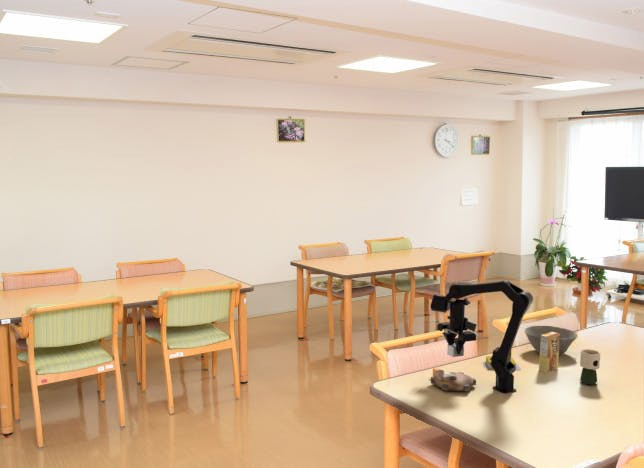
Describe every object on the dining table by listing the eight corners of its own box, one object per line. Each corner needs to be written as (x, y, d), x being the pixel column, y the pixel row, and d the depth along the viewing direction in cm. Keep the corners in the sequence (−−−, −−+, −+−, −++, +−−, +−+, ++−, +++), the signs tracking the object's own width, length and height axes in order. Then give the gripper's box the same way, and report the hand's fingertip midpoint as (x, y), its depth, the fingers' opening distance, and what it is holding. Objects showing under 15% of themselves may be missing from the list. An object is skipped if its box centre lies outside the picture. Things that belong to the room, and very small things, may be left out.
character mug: (592, 389, 236) (594, 356, 234) (573, 384, 241) (575, 352, 239) (602, 382, 243) (605, 350, 242) (585, 377, 248) (587, 346, 247)
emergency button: (482, 353, 267) (517, 354, 265) (482, 362, 267) (517, 364, 265) (485, 359, 258) (521, 361, 256) (484, 369, 258) (521, 371, 256)
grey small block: (463, 355, 242) (464, 346, 242) (453, 357, 240) (453, 347, 240) (457, 352, 246) (457, 343, 246) (447, 354, 244) (447, 344, 244)
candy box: (549, 365, 263) (551, 331, 261) (558, 368, 259) (560, 333, 258) (538, 370, 257) (540, 334, 255) (547, 372, 254) (549, 337, 252)
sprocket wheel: (471, 377, 244) (472, 362, 243) (479, 391, 228) (480, 376, 228) (428, 375, 245) (429, 361, 244) (433, 390, 229) (433, 374, 229)
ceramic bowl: (513, 349, 286) (514, 328, 285) (549, 343, 296) (550, 323, 295) (548, 363, 266) (550, 341, 265) (586, 356, 276) (588, 335, 275)
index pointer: (441, 377, 246) (441, 369, 245) (436, 378, 245) (436, 370, 244) (437, 375, 248) (437, 367, 248) (432, 376, 247) (432, 368, 247)
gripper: (488, 318, 236) (486, 357, 238) (459, 307, 253) (458, 343, 255) (465, 320, 232) (463, 360, 233) (437, 309, 249) (435, 346, 250)
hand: (455, 352), depth 243 cm, fingers closed on grey small block, 4 cm apart
